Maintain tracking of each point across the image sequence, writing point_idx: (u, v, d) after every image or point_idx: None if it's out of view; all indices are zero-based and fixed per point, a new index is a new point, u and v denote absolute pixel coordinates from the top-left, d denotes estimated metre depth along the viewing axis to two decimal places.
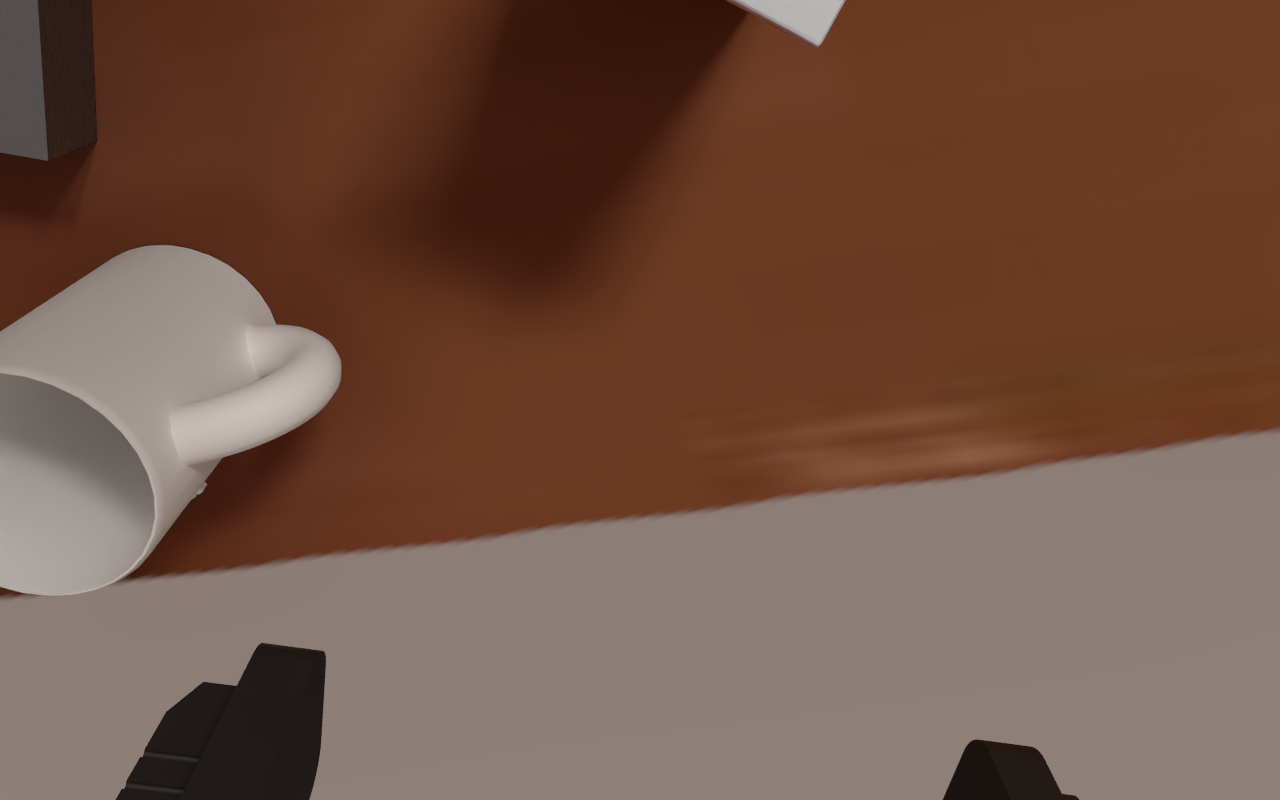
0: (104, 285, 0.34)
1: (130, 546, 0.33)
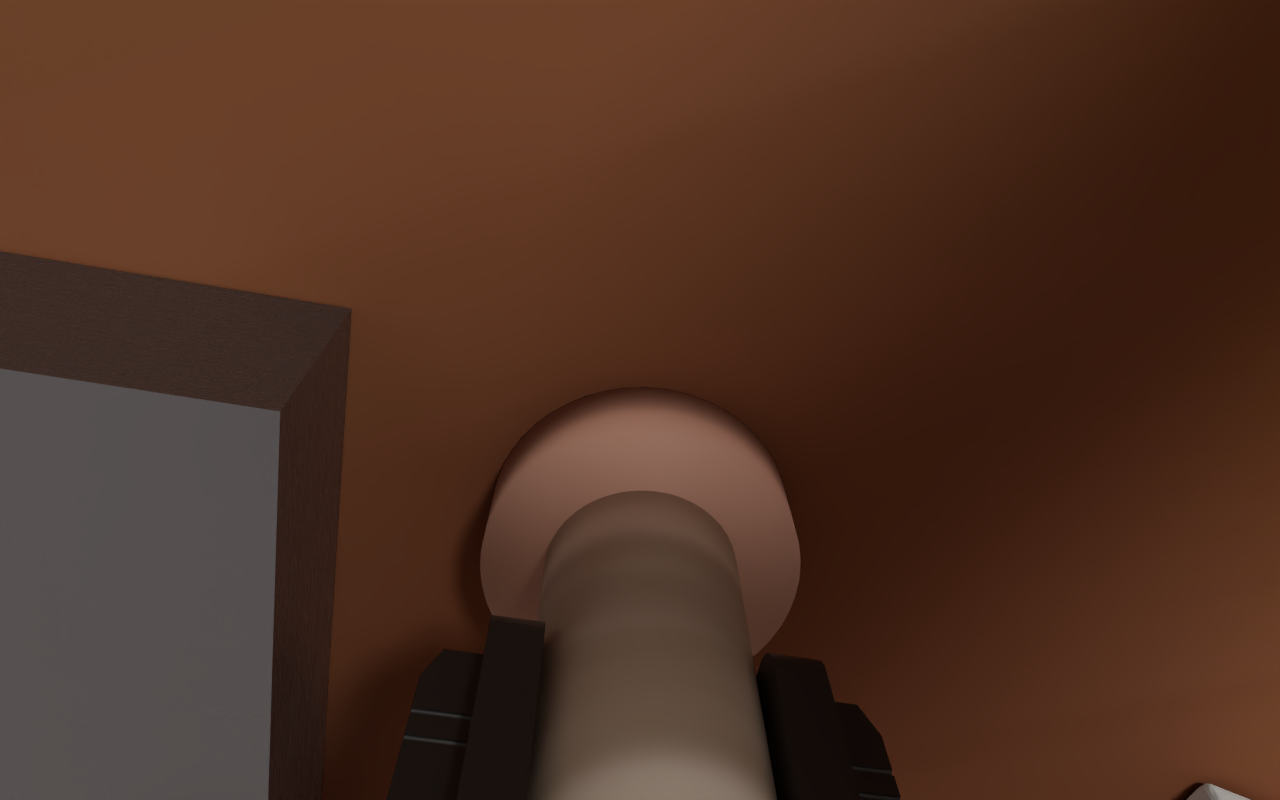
0: None
1: None
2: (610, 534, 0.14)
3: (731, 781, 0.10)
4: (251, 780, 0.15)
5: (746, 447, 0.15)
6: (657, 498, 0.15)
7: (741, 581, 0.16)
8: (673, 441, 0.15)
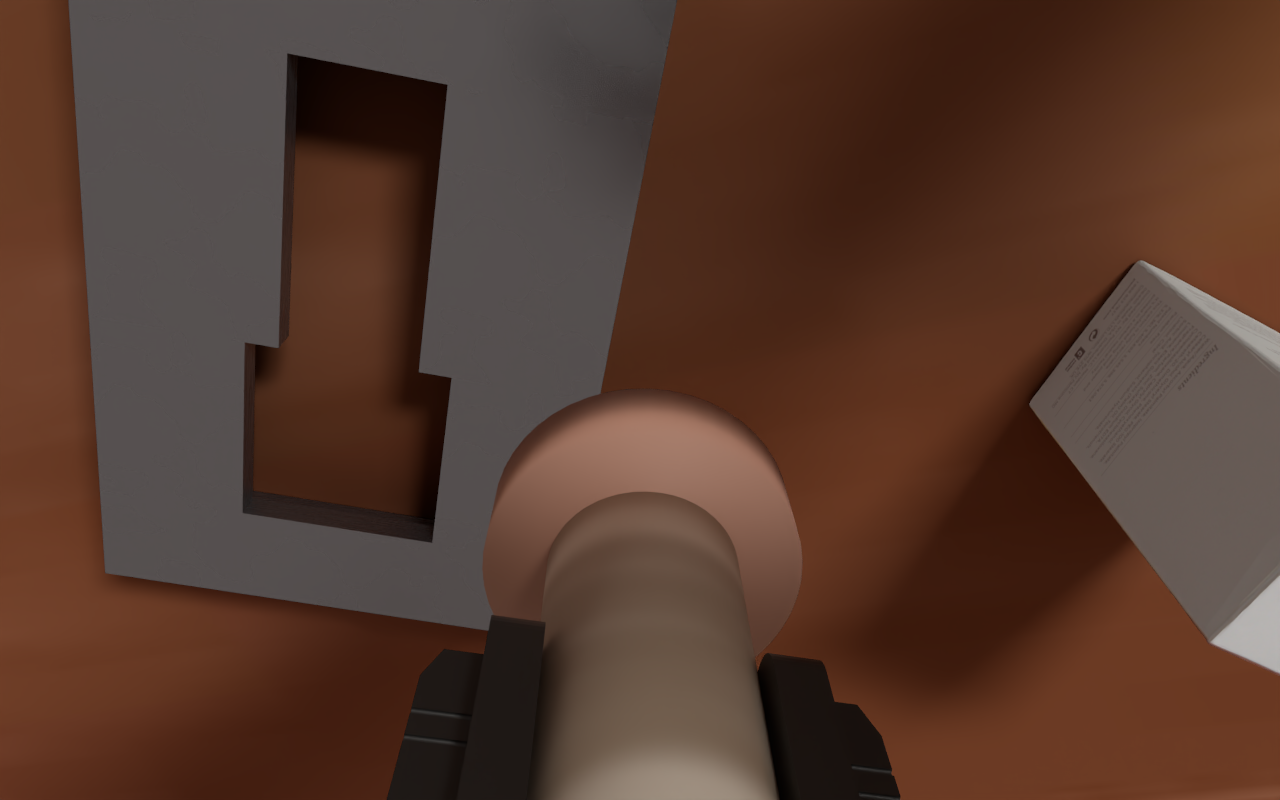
0: None
1: None
2: (612, 535, 0.14)
3: (734, 781, 0.10)
4: (636, 164, 0.29)
5: (747, 448, 0.15)
6: (659, 499, 0.15)
7: (743, 582, 0.16)
8: (675, 443, 0.15)
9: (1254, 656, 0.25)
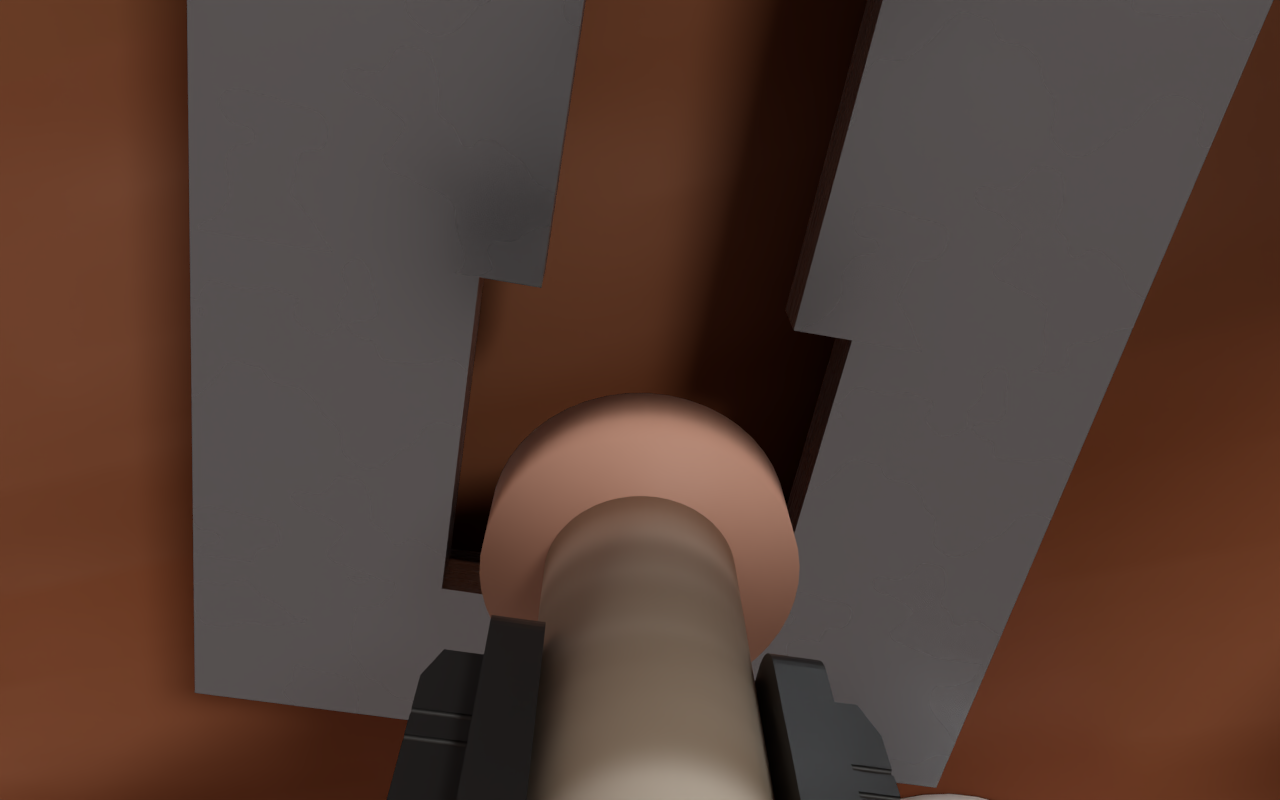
0: None
1: None
2: (608, 540, 0.14)
3: (729, 787, 0.10)
4: None
5: (744, 452, 0.15)
6: (656, 503, 0.15)
7: (740, 586, 0.16)
8: (672, 447, 0.15)
9: None
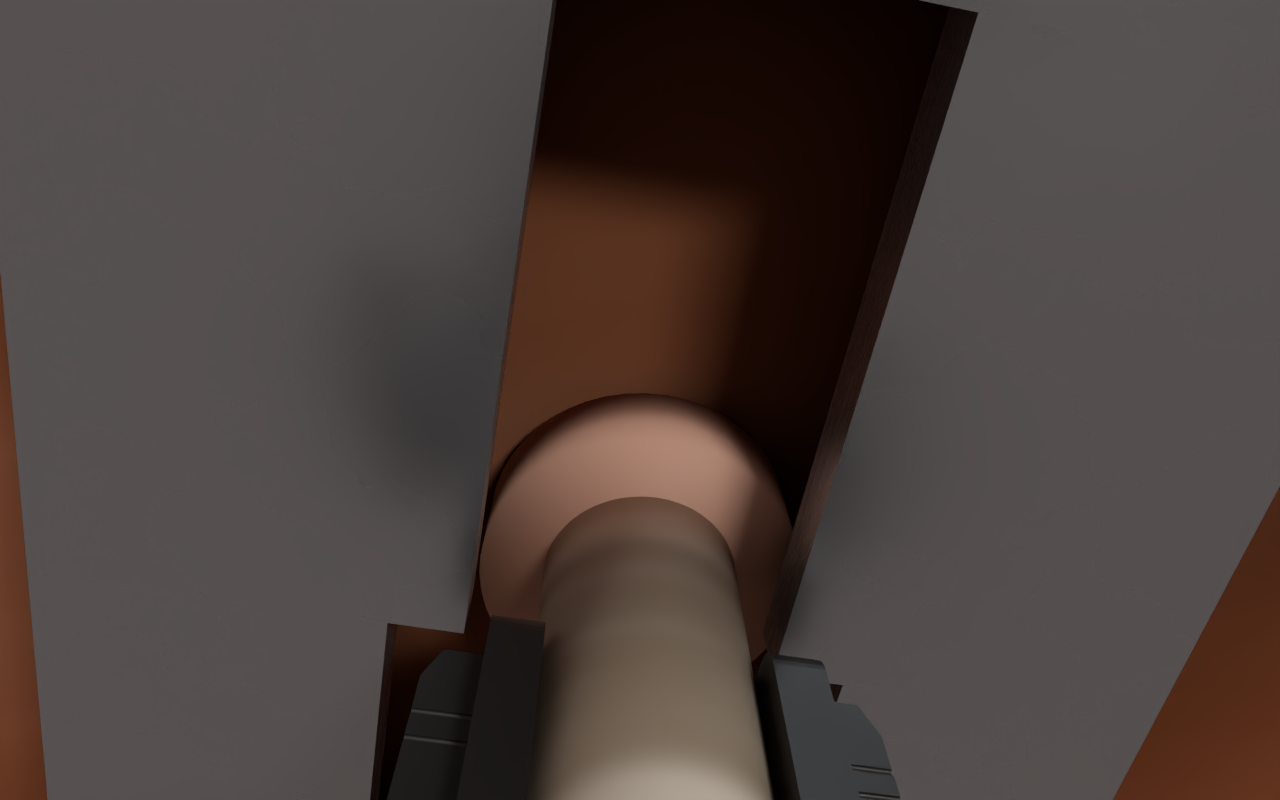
0: None
1: None
2: (609, 540, 0.14)
3: (729, 788, 0.10)
4: None
5: (745, 453, 0.15)
6: (656, 504, 0.15)
7: (740, 586, 0.16)
8: (672, 447, 0.15)
9: None
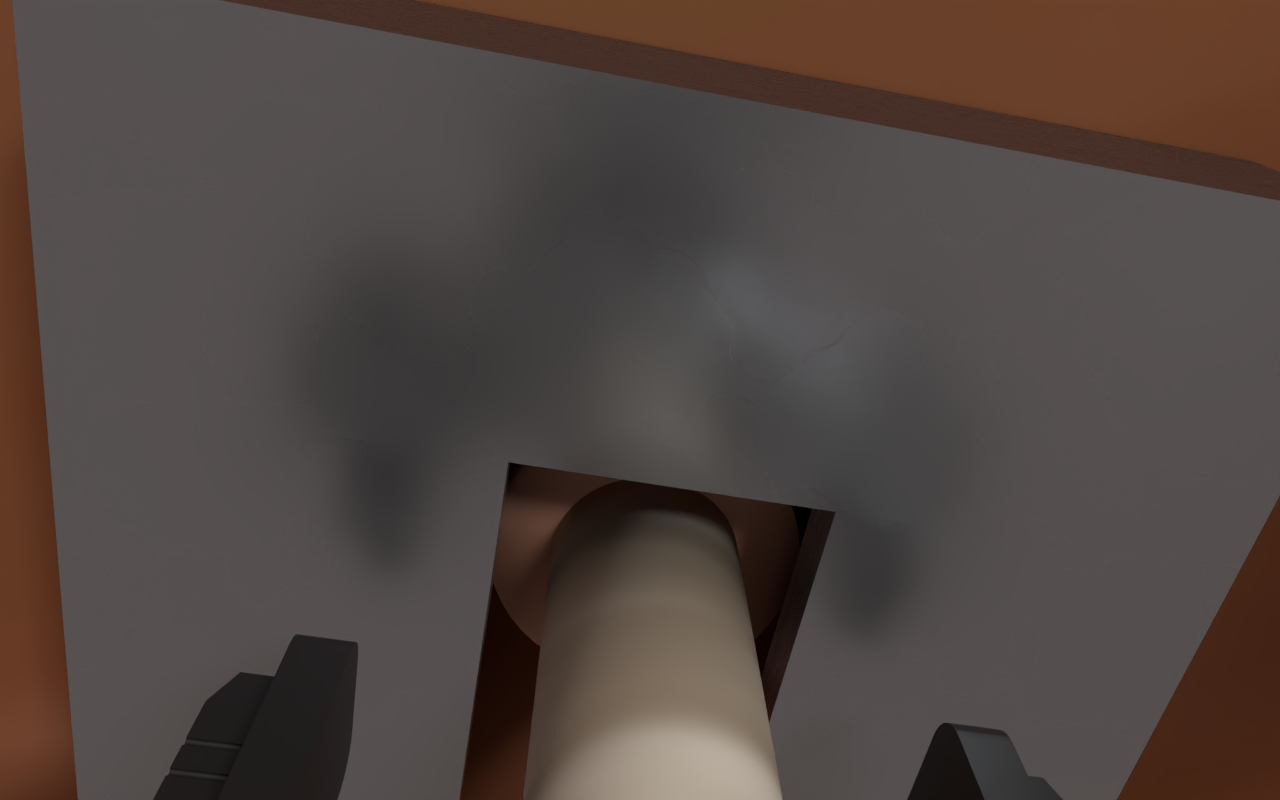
0: None
1: None
2: (615, 519, 0.14)
3: (733, 749, 0.11)
4: (1187, 637, 0.14)
5: None
6: None
7: (742, 566, 0.16)
8: None
9: None
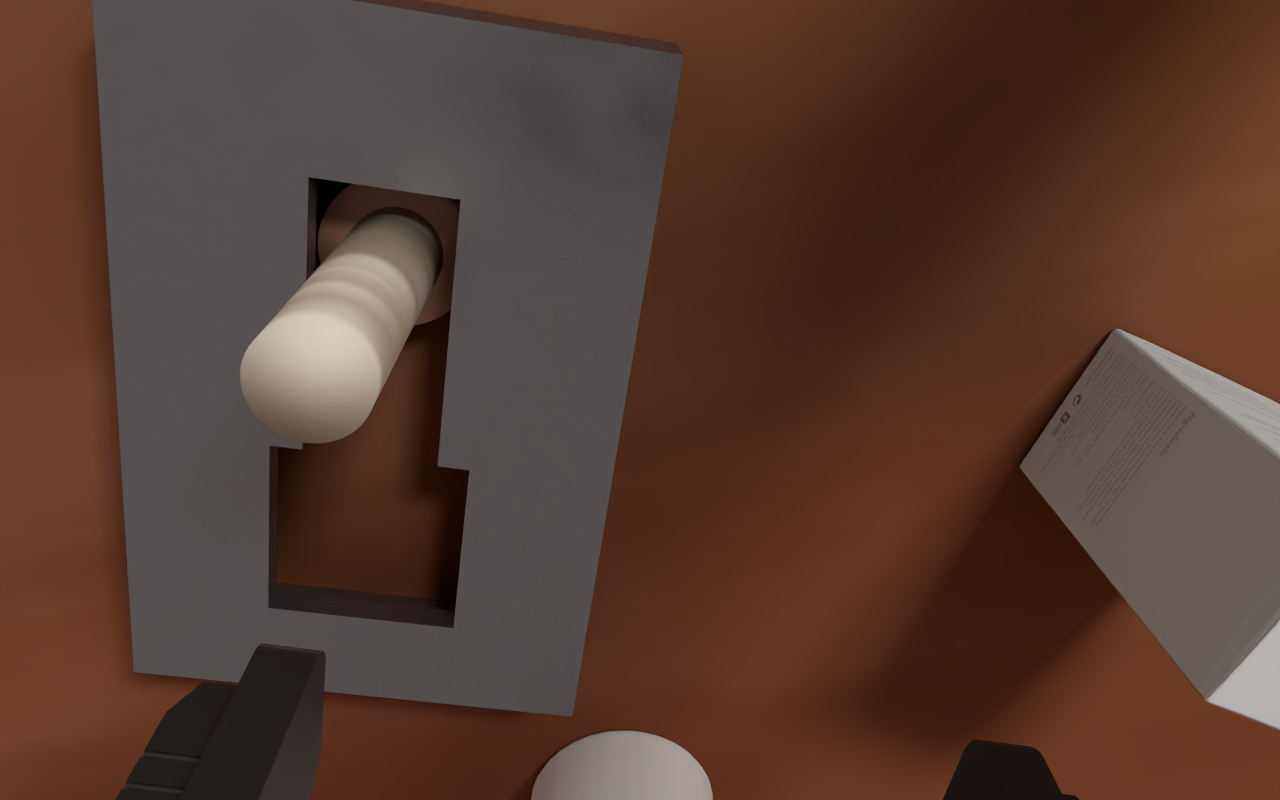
0: None
1: None
2: (369, 217, 0.31)
3: (384, 263, 0.27)
4: (640, 265, 0.30)
5: None
6: (397, 208, 0.31)
7: (446, 256, 0.32)
8: None
9: (1248, 712, 0.26)
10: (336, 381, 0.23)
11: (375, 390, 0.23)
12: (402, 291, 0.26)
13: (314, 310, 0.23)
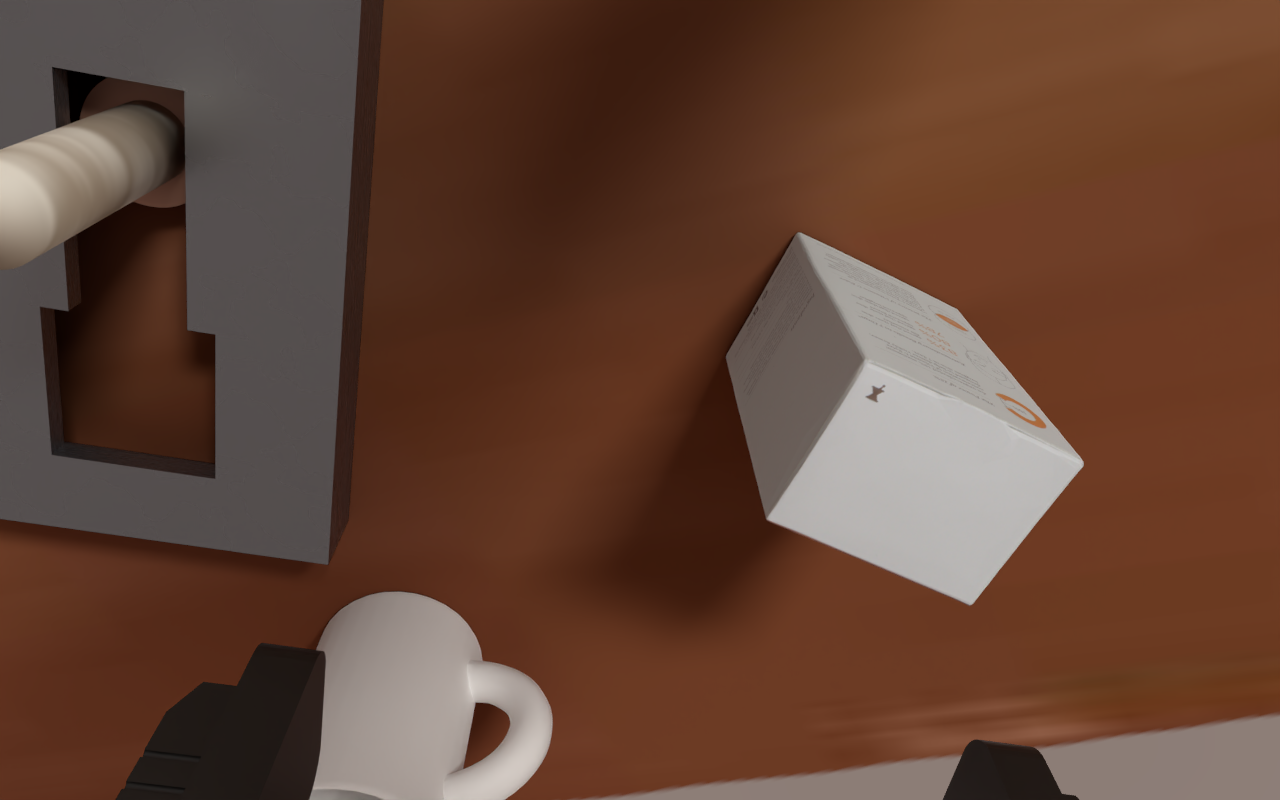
0: (370, 660, 0.43)
1: None
2: (114, 106, 0.36)
3: (95, 136, 0.32)
4: (345, 153, 0.35)
5: None
6: (144, 101, 0.36)
7: None
8: None
9: (804, 530, 0.31)
10: (10, 217, 0.28)
11: (44, 225, 0.28)
12: (107, 159, 0.32)
13: None
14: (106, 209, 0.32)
